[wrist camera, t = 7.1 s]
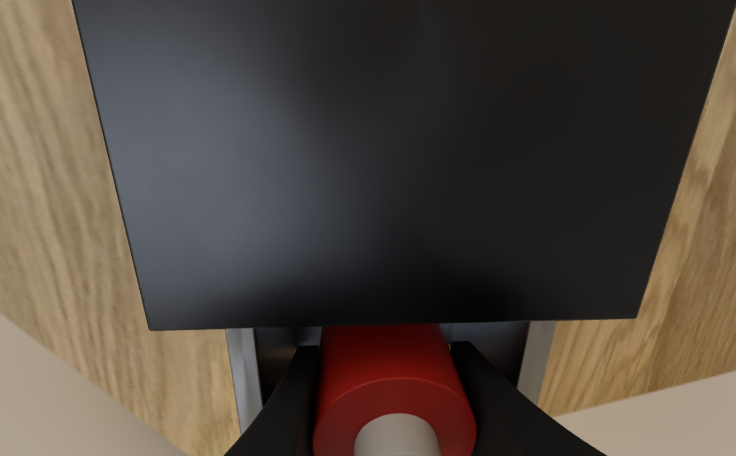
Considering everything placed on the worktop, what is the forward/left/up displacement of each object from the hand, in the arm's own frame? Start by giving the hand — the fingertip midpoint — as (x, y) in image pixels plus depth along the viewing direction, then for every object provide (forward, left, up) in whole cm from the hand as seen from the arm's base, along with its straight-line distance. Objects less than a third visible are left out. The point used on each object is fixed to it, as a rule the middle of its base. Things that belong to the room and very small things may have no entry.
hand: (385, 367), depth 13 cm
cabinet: (+10, 0, -7) cm, 12 cm away
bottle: (0, 0, -1) cm, 1 cm away
